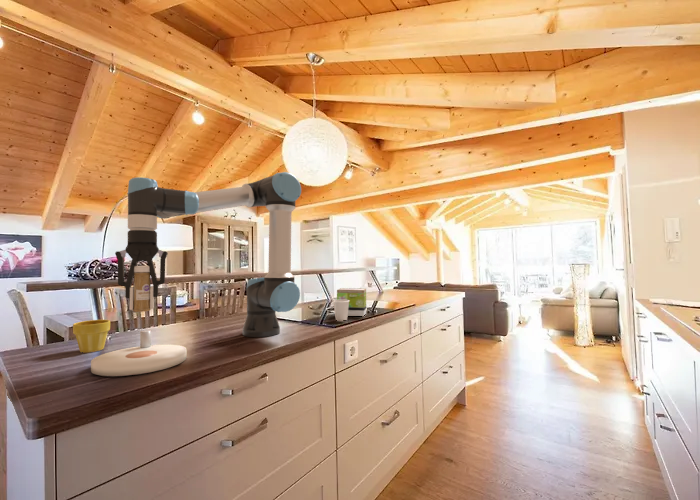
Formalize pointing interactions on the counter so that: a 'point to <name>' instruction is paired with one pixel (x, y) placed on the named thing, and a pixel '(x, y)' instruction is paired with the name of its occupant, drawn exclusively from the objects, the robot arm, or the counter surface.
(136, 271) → the sprinkles bottle
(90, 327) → the plant pot
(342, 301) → the dixie cup
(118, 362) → the disc
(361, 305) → the tea box
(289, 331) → the counter surface
